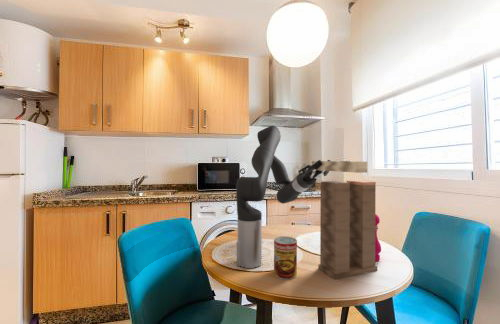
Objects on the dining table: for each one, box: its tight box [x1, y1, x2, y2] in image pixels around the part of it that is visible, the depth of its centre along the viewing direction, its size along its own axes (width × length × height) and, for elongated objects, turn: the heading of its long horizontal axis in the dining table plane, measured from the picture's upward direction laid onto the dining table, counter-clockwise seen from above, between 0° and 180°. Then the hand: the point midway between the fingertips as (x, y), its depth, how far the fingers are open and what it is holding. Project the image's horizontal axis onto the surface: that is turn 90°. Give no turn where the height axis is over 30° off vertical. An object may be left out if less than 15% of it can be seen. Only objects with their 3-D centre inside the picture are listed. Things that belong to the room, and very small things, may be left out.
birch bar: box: [311, 160, 368, 174], centre depth 90 cm, size 24×4×4 cm, turn 22°
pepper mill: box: [375, 213, 382, 262], centre depth 100 cm, size 7×7×20 cm
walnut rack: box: [317, 179, 378, 280], centre depth 90 cm, size 9×19×32 cm, turn 112°
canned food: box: [273, 235, 298, 280], centre depth 86 cm, size 8×8×12 cm
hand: (325, 162), depth 96 cm, fingers closed on birch bar, 4 cm apart
